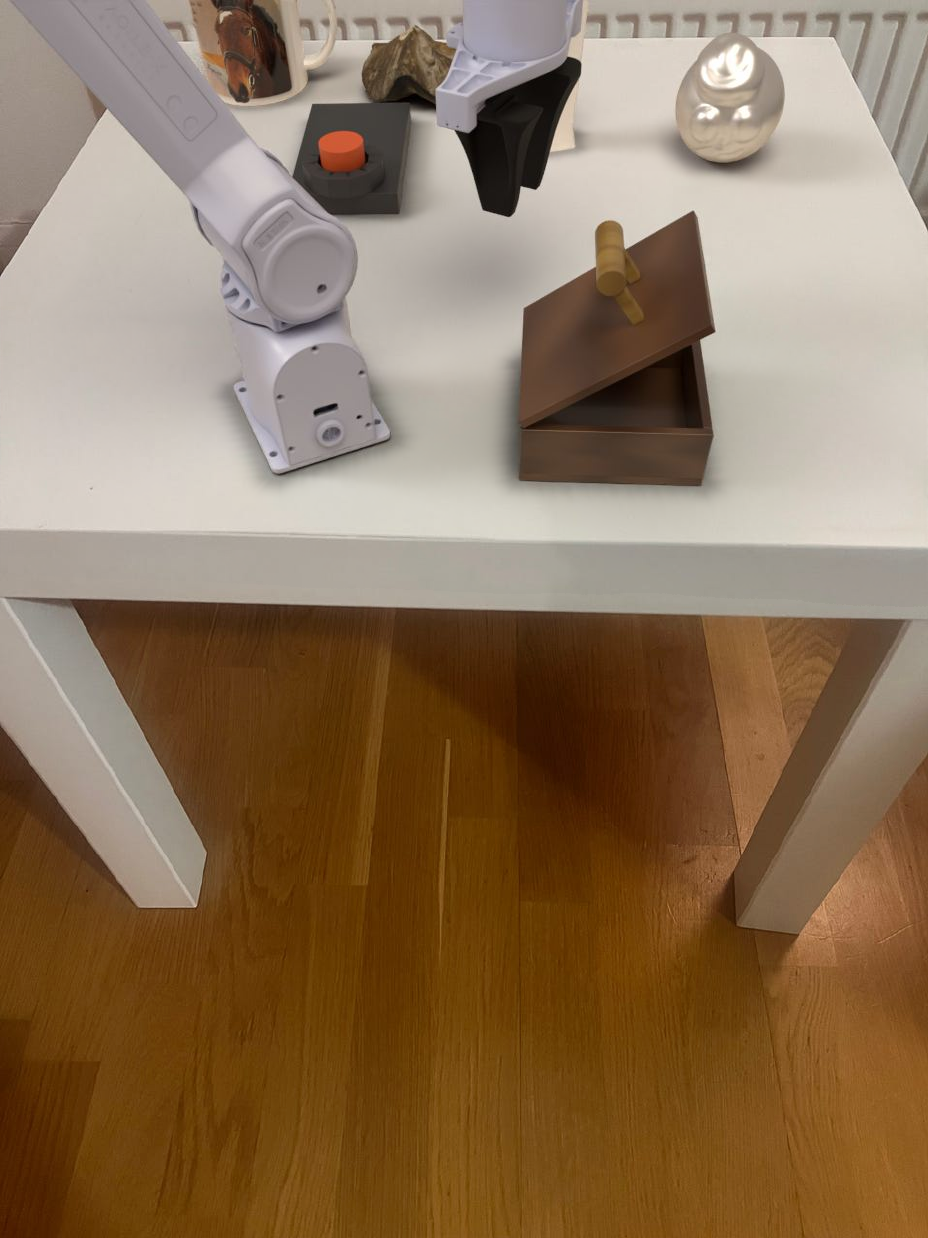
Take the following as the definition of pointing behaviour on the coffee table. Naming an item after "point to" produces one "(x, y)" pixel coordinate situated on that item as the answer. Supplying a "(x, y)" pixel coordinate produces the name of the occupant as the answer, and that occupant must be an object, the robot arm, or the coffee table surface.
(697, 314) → the case lid
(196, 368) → the coffee table surface
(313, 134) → the control box
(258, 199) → the robot arm
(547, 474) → the wooden case
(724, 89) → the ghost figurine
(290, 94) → the mug
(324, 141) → the button
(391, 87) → the fossilized seashell
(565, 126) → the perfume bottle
